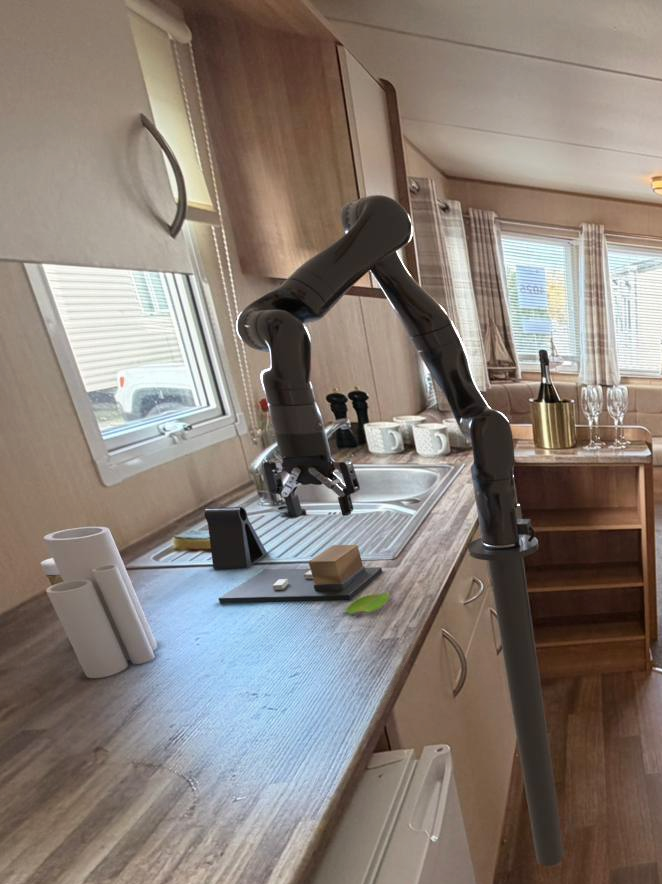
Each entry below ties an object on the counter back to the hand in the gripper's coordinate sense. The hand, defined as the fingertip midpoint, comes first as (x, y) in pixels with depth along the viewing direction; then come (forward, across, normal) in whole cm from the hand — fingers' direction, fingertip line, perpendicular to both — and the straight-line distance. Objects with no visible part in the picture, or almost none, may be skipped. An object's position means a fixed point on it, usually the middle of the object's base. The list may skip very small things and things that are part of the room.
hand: (322, 514), depth 122 cm
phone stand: (+15, +26, -16) cm, 35 cm away
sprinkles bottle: (+15, +29, +18) cm, 38 cm away
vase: (+15, +19, +28) cm, 37 cm away
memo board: (+15, +6, 0) cm, 16 cm away
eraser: (+14, 0, 0) cm, 14 cm away
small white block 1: (+14, +10, +2) cm, 17 cm away
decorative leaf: (+15, -9, +10) cm, 20 cm away
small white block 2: (+14, +6, -4) cm, 16 cm away
